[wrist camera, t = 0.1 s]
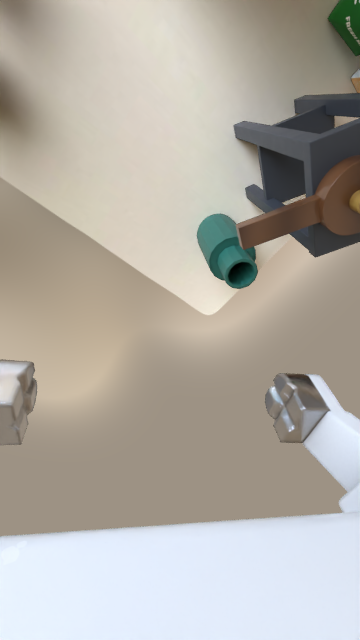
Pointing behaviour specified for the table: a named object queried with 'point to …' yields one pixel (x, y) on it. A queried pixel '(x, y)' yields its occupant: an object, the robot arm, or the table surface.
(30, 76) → the table surface
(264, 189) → the stand
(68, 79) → the table surface
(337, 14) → the milk carton
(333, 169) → the lid
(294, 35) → the table surface
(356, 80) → the small box
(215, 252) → the bottle
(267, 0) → the table surface
